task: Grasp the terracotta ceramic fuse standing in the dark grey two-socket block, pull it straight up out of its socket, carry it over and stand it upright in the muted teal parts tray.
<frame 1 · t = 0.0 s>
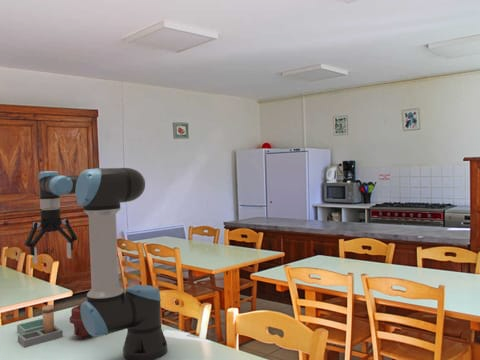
hand: (52, 260, 185), 28 cm above the table, fingers open, 13 cm apart
fuse: (49, 337, 176), resting in socket block
mechanical component: (84, 337, 175), on the table
socket block: (40, 339, 174), on the table
parts tray: (34, 331, 182), on the table
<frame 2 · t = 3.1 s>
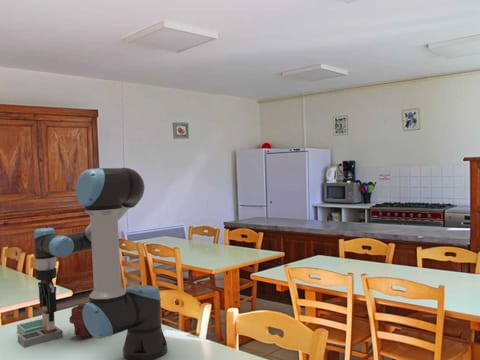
hand: (48, 327, 176), 4 cm above the table, fingers closed on fuse, 4 cm apart
fuse: (49, 337, 176), resting in socket block, touching gripper
everything else where it was.
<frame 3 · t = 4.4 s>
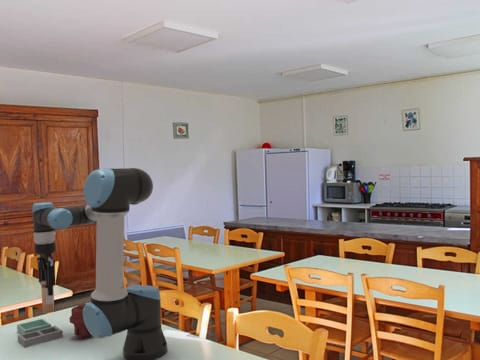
hand: (48, 302, 175), 14 cm above the table, fingers closed on fuse, 4 cm apart
fuse: (48, 311, 175), point 10 cm above the table, touching gripper
everything else where it was.
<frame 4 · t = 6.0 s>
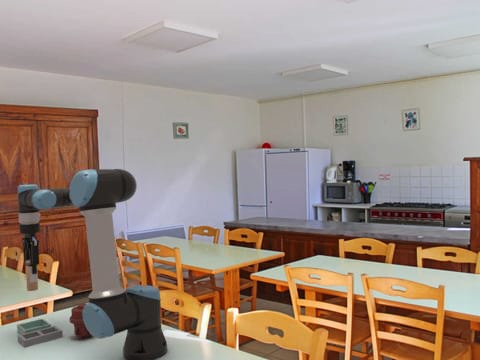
hand: (32, 280, 181), 21 cm above the table, fingers closed on fuse, 4 cm apart
fuse: (32, 289, 182), point 17 cm above the table, touching gripper
everything else where it was.
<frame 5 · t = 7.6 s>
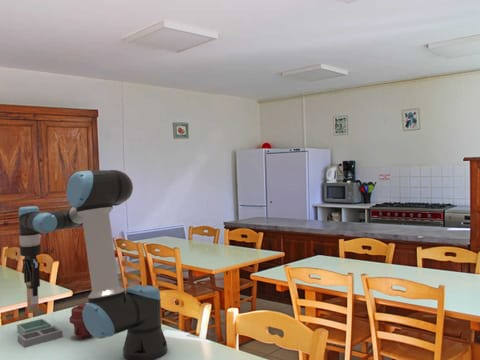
hand: (32, 302, 182), 12 cm above the table, fingers closed on fuse, 4 cm apart
fuse: (33, 311, 182), point 8 cm above the table, touching gripper
everything else where it was.
when the fingers open (5 cm above the table, at t = 9.1 s): fuse stays where it is, resting on parts tray.
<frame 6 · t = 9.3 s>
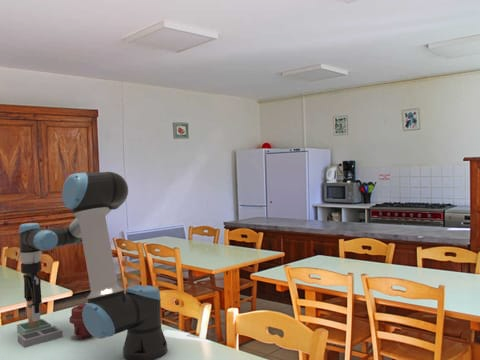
hand: (33, 318, 182), 5 cm above the table, fingers open, 6 cm apart
fuse: (34, 330, 182), point 1 cm above the table, touching parts tray
everything else where it was.
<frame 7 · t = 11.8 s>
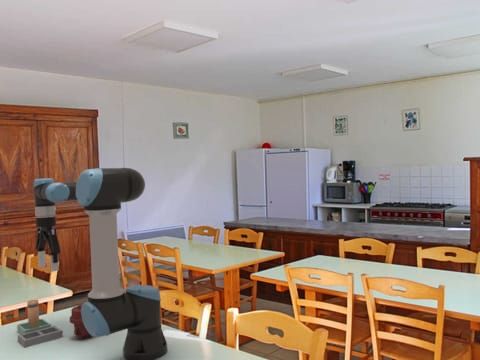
hand: (48, 269, 182), 25 cm above the table, fingers open, 13 cm apart
nothing on the table moved.
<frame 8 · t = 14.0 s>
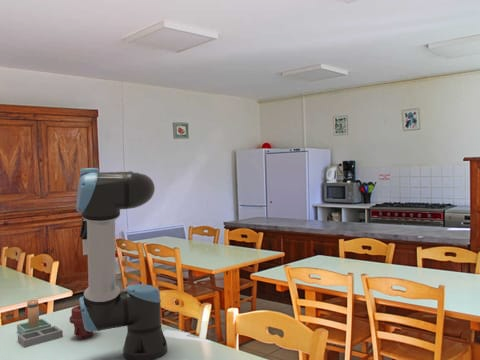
hand: (93, 256, 187), 29 cm above the table, fingers open, 13 cm apart
nothing on the table moved.
at the end: fuse inside the target area on the parts tray (0.0 cm from its centre), point 0.5 cm above the parts tray's base; fuse tilted 0°; the gripper is holding nothing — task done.
